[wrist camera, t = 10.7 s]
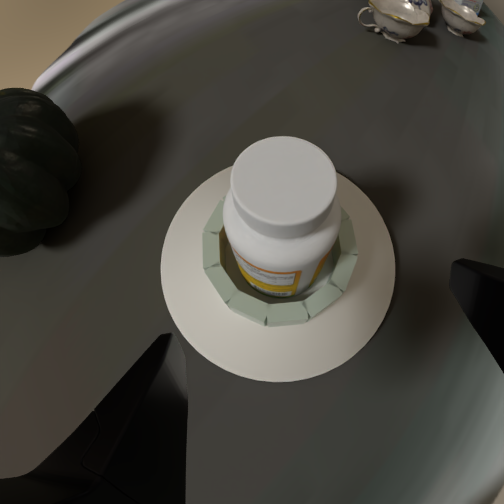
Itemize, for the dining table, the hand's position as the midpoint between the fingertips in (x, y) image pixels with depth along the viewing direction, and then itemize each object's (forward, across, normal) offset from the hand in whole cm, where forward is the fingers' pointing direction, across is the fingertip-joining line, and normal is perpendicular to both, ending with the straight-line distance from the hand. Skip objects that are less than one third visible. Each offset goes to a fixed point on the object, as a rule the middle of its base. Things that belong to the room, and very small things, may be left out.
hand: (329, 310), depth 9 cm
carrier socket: (+12, 0, +4) cm, 13 cm away
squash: (+20, +21, -4) cm, 29 cm away
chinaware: (+35, -31, -19) cm, 51 cm away
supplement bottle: (+11, 0, +4) cm, 12 cm away
